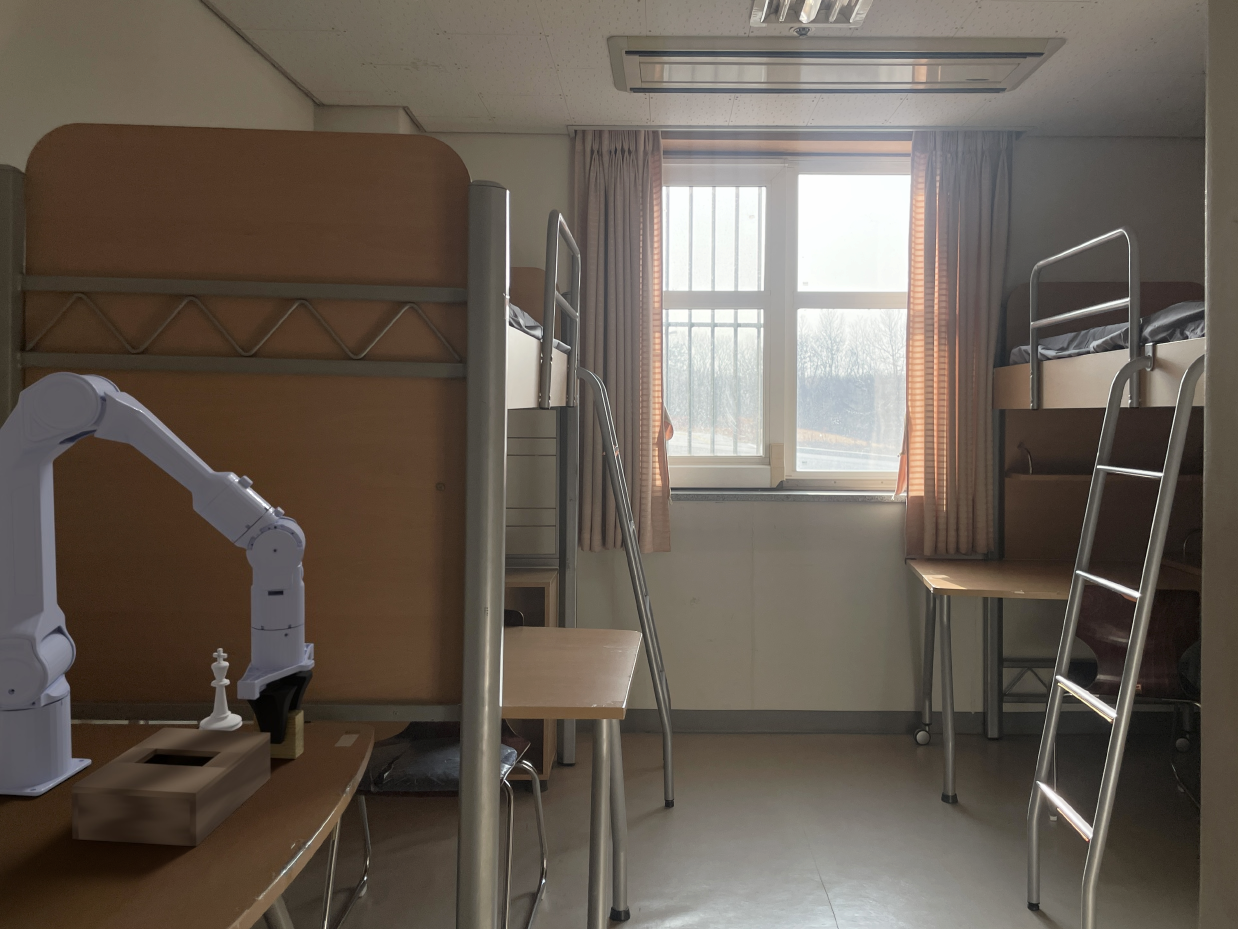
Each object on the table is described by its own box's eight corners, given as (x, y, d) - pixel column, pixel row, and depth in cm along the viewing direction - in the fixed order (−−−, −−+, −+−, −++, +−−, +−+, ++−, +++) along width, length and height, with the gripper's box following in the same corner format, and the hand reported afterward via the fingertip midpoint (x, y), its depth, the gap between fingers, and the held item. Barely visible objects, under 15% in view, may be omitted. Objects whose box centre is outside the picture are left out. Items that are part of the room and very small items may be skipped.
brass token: (253, 756, 95) (253, 714, 94) (262, 749, 97) (262, 708, 96) (295, 758, 94) (295, 716, 94) (303, 751, 96) (303, 710, 96)
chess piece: (225, 736, 100) (224, 656, 100) (189, 732, 101) (188, 653, 101) (250, 721, 105) (250, 645, 105) (216, 717, 106) (216, 642, 105)
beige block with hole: (72, 839, 76) (71, 786, 76) (165, 772, 90) (164, 727, 90) (196, 846, 76) (195, 793, 75) (270, 778, 90) (270, 732, 89)
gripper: (282, 643, 87) (282, 767, 88) (337, 609, 102) (337, 716, 102) (217, 640, 88) (219, 763, 88) (282, 607, 102) (282, 713, 103)
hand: (278, 738), depth 96 cm, fingers closed on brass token, 2 cm apart
